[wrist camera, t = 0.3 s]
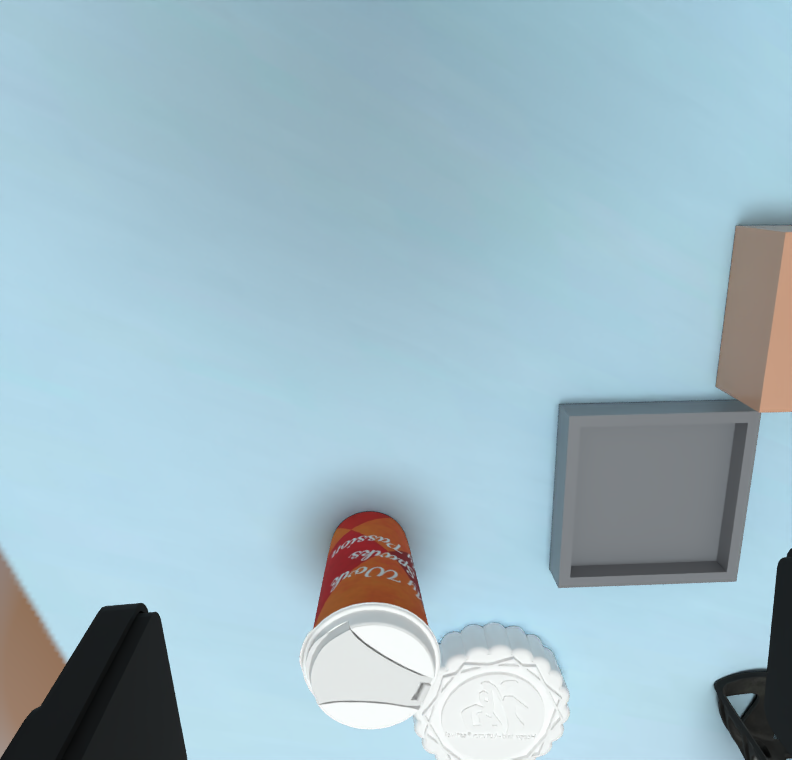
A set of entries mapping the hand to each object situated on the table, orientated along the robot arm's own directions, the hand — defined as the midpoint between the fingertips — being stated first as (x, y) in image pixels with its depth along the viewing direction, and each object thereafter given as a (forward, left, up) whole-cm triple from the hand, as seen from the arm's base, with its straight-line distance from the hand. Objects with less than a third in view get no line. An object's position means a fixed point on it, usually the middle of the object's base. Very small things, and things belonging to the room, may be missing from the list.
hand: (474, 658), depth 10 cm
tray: (+15, +18, -36) cm, 43 cm away
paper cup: (+19, -2, -36) cm, 41 cm away
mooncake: (+32, +7, -37) cm, 49 cm away
